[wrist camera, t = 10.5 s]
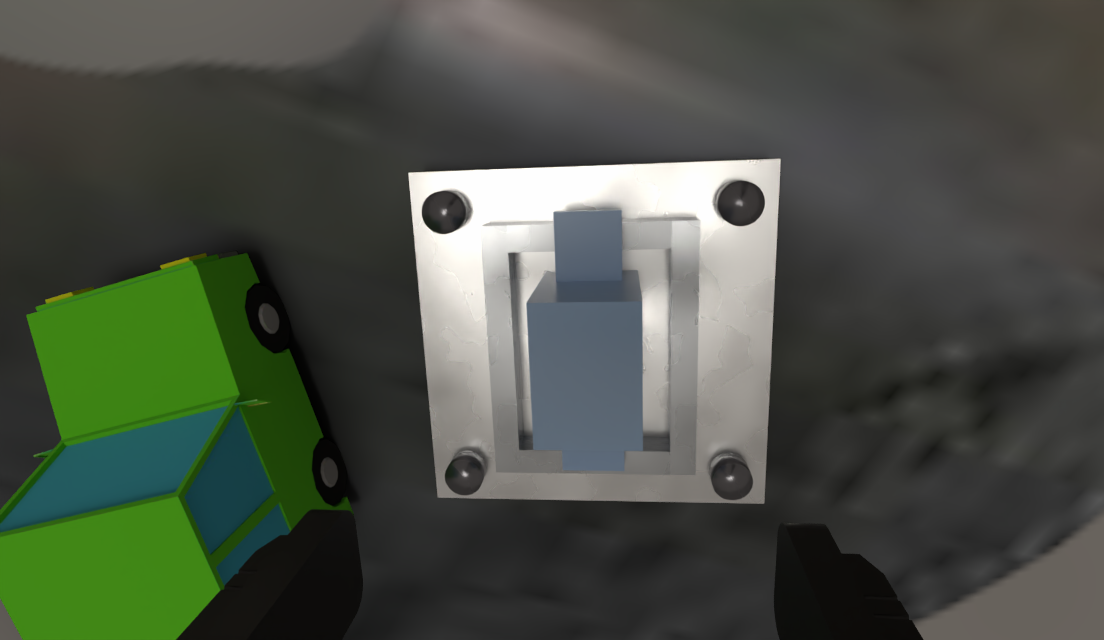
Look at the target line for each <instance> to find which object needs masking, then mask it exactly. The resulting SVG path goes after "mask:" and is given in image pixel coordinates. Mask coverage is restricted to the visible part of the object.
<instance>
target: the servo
mask: <svg viewBox="0 0 1104 640" xmlns="http://www.w3.org/2000/svg"><path fill="white" fill-rule="evenodd" d="M553 220H554V247H555V272H545V274H544V276H543V277H542V279H541V280H540V282H539V283H538V285H537V287H536V288H535V290H534V291H533V293H532V295H531V296H530V298H529V299H528V301H527V303H526V308H527V328H528V349H529V369H530V390H531V410H532V431H533V450H562V463H563V470H579V471H625V469H624V451H643V327H642V295H641V288H640V282H639V275H638V270H622V209H603V210H569V211H554V212H553Z"/></svg>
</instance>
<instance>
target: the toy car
mask: <svg viewBox="0 0 1104 640" xmlns="http://www.w3.org/2000/svg"><path fill="white" fill-rule="evenodd" d="M160 267H161V269H162V270H159V271H155V272H152V273H149V274H145V275H142V276H139V277H135V278H132V279H128V280H125V281H122V282H118V283H115V284H112V285H108V286H105V287H101V288H98V289H95V290H94V288H93V287H90V288H86V289H82V290H78V291H74V292H70V293H67V294H63V295H60V296H57V297H53V298H50V299H47V300H45V301H46V303H47V304H44V305H41V306H38V307H36V309H37V312H36V313H32V314H29V315H26V316H27V320H28V323H29V327H30V330H31V334H32V337H33V341H34V344H35V348H36V351H37V355H38V358H39V362H40V365H41V369H42V372H43V376H44V379H45V383H46V386H47V389H48V393H49V396H50V400H51V403H52V407H53V410H54V414H55V417H56V421H57V424H58V428H59V431H60V435H61V438H62V440H61V441H60V443H59V444H58V445H57V446H56V447H55V448H54V449H52V450H49V451H46V452H43V453H40V454H36V455H34V457H44V458H45V460H44V461H43V462H42V463H41V464H40V465H39V466H38V468H37V469H36V470H35V471H34V472H33V473H32V474H31V476H30V477H29V478H28V479H27V480H26V481H25V482H24V484H23V485H22V486H21V487H20V488H19V489H18V490H17V492H16V493H15V494H14V495H13V496H12V497H11V498H10V500H9V501H8V502H7V503H6V504H5V505H4V506H3V508H2V509H1V510H0V599H1V601H2V602H3V604H4V606H5V608H6V610H7V611H8V614H9V615H10V617H11V619H12V621H13V623H14V625H15V626H16V628H17V630H18V632H19V634H20V636H21V637H22V639H23V640H176V639H177V638H178V637H179V636H180V635H181V633H182V632H183V631H184V630H185V629H186V628H187V627H188V626H189V624H190V623H191V622H192V621H193V620H194V619H195V618H196V617H197V616H198V614H199V613H200V612H201V611H202V610H203V609H204V608H205V607H206V606H207V604H208V603H209V602H210V601H211V600H212V599H213V598H214V597H215V596H216V594H217V593H218V592H219V591H220V590H224V586H225V584H226V583H227V582H228V581H229V580H230V579H231V578H232V577H233V576H234V574H238V572H239V569H240V568H241V567H242V566H243V564H244V563H245V562H246V561H247V560H248V559H249V558H250V557H251V556H252V554H253V553H254V552H255V551H256V550H258V549H259V548H261V547H263V546H264V545H266V544H267V543H269V542H270V541H272V540H273V539H275V538H277V537H278V536H280V535H288V534H289V533H290V531H291V530H292V529H293V528H294V527H295V526H296V524H297V523H298V522H299V521H300V520H301V519H302V517H303V516H304V515H305V514H306V513H307V512H308V511H309V510H312V509H323V510H349V511H351V512H352V514H353V511H352V509H351V506H350V504H349V501H348V498H347V497H344V498H342V497H343V494H344V492H345V490H346V474H347V473H346V469H345V464H344V461H343V459H342V456H341V453H340V451H339V450H338V448H337V446H336V445H335V444H334V443H332V442H330V441H329V440H327V439H325V440H321V441H319V439H320V438H323V434H322V432H321V429H320V426H319V424H318V421H317V419H316V416H315V414H314V411H313V408H312V406H311V403H310V401H309V398H308V396H307V393H306V390H305V388H304V385H303V383H302V380H301V378H300V375H299V372H298V370H297V367H296V365H295V362H294V360H293V357H292V355H291V353H290V350H289V349H286V350H283V349H284V347H285V346H286V345H287V343H288V342H289V333H290V324H289V320H288V316H287V313H286V311H285V308H284V305H283V303H282V302H281V300H280V298H279V296H278V295H277V294H276V293H275V292H273V291H272V290H271V289H270V288H269V287H267V286H260V285H255V286H252V285H254V284H257V283H260V282H259V279H258V277H257V275H256V272H255V270H254V268H253V266H252V263H251V261H250V259H249V256H248V254H247V253H245V254H240V255H238V253H237V251H232V252H226V253H220V254H216V255H212V256H208V257H207V255H206V253H204V254H200V255H195V256H191V257H187V258H184V259H181V260H177V261H174V262H171V263H167V264H164V265H161V266H160ZM353 515H354V514H353Z"/></svg>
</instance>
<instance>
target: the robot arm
mask: <svg viewBox="0 0 1104 640" xmlns="http://www.w3.org/2000/svg"><path fill="white" fill-rule="evenodd" d="M362 591H363V577H362V569H361V562H360V554H359V547H358V539H357V531H356V524H355V519H354V516H353V514H352V512H351V511H349V510H323V509H312V510H309V511H308V512H307V513H306V514H305V515H304V516H303V517H302V519H301V520H300V521H299V522H298V523H297V524H296V526H295V527H294V528H293V529H292V530H291V531H290V533H289V534H288V535H280V536H278V537H277V538H275V539H273V540H272V541H270V542H269V543H267V544H266V545H264V546H263V547H261V548H259V549H258V550H256V551H255V552H254V553H253V554H252V556H251V557H250V558H249V559H248V560H247V561H246V562H245V563H244V564H243V566H242V567H241V568H240V569H239V572H238V574H234V576H233V577H232V578H231V579H230V580H229V581H228V582H227V583H226V584H225V586H224V590H220V591H219V592H218V593H217V594H216V596H215V597H214V598H213V599H212V600H211V601H210V602H209V603H208V604H207V606H206V607H205V608H204V609H203V610H202V611H201V612H200V613H199V614H198V616H197V617H196V618H195V619H194V620H193V621H192V622H191V623H190V624H189V626H188V627H187V628H186V629H185V630H184V631H183V632H182V633H181V635H180V636H179V637H178V638H177V639H176V640H342V639H343V637H344V635H345V633H346V632H347V630H348V628H349V626H350V625H351V623H352V621H353V619H354V618H355V616H356V614H357V612H358V609H359V606H360V602H361V598H362ZM774 612H775V620H776V627H777V631H778V635H779V639H780V640H923V638H922V637H921V635H920V633H919V632H918V630H917V628H916V627H915V625H914V623H913V622H912V620H909V615H908V613H907V612H906V610H905V609H904V607H903V605H902V604H901V602H900V601H898V600H897V595H896V594H895V592H894V590H893V589H892V587H891V585H890V584H889V582H888V580H887V579H886V577H885V575H884V574H883V573H882V572H881V571H879V570H878V569H877V568H876V567H875V566H873V565H872V564H871V563H870V562H868V561H867V560H866V559H865V558H863V557H862V556H861V555H860V554H841V552H840V550H839V548H838V546H837V545H836V543H835V541H834V539H833V537H832V535H831V533H830V531H829V529H828V528H827V526H826V525H825V524H810V523H781V524H780V526H779V530H778V539H777V556H776V572H775V588H774Z"/></svg>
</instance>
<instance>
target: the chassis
mask: <svg viewBox="0 0 1104 640" xmlns="http://www.w3.org/2000/svg"><path fill="white" fill-rule="evenodd" d="M780 161H781V159H769V158H768V159H741V160H714V161H688V162H661V163H634V164H608V165H581V166H554V167H528V168H501V169H474V170H448V171H423V172H412V173H408V174H409V185H410V196H411V207H412V218H413V229H414V240H415V251H416V263H417V274H418V285H419V296H420V307H421V318H422V329H423V340H424V351H425V362H426V373H427V384H428V395H429V406H430V417H431V428H432V439H433V450H434V461H435V472H436V483H437V494H438V498H488V499H542V500H595V501H649V502H703V503H756V504H764V497H765V476H766V455H767V434H768V413H769V392H770V371H771V350H772V329H773V308H774V287H775V266H776V245H777V224H778V203H779V182H780ZM603 209H622V270H638V275H639V282H640V288H641V295H642V327H643V451H624V469H625V471H579V470H563V463H562V450H533V431H532V410H531V390H530V369H529V349H528V328H527V308H526V303H527V301H528V299H529V298H530V296H531V295H532V293H533V291H534V290H535V288H536V287H537V285H538V283H539V282H540V280H541V279H542V277H543V276H544V274H545V272H555V247H554V220H553V212H554V211H569V210H603Z"/></svg>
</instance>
